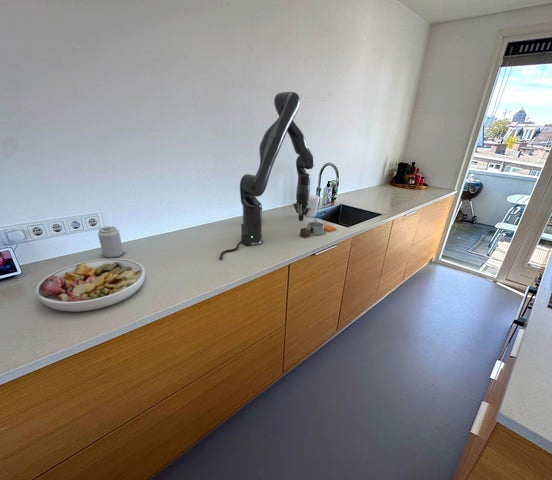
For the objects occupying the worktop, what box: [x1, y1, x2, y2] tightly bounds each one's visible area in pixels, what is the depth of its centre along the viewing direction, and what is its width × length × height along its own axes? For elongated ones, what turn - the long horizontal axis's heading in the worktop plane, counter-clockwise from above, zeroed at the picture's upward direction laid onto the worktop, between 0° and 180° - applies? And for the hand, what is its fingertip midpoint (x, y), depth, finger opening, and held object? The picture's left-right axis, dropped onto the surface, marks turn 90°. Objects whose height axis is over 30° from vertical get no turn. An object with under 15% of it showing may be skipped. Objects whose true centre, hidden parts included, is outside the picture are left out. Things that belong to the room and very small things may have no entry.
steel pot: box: [306, 221, 326, 236], centre depth 165 cm, size 10×10×5 cm
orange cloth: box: [324, 224, 337, 233], centre depth 172 cm, size 6×7×1 cm
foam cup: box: [306, 194, 321, 218], centre depth 193 cm, size 10×9×13 cm
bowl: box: [35, 258, 146, 312], centre depth 97 cm, size 30×30×8 cm
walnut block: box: [299, 227, 311, 239], centre depth 159 cm, size 4×4×4 cm
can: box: [97, 226, 124, 259], centre depth 121 cm, size 8×8×12 cm
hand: (300, 220), depth 172 cm, fingers closed
